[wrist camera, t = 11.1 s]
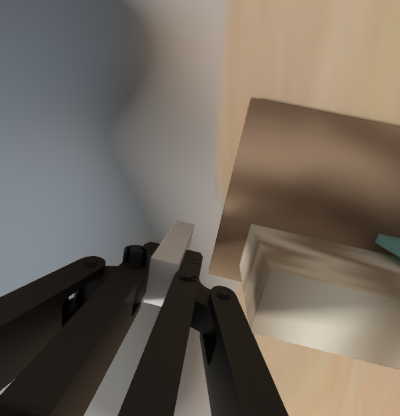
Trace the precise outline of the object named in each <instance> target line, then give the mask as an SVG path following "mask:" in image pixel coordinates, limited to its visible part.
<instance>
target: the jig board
mask: <svg viewBox="0 0 400 416" xmlns="http://www.w3.org/2000/svg"><path fill="white" fill-rule="evenodd" d="M251 224H255V225H259V226H263V227H268V228H272V229H277V230H281V231H285V232H290V233H294V234H299V235H303V236H307V237H312V238H316V239H321V240H325V241H330V242H334V243H338V244H343V245H347V246H352V247H356V248H360V249H365V250H369V251H374V252H378V253H382V254H387V255H391V256H396V257H399V256H397V255H395V254H394V253H392V252H390V251H388V250H387V249H385V248H383V247H381V246H380V245H378V244H376V243H375V240H376V238H377V236H378V234H383V235H387V236H392V237H396V238H400V127H397V126H392V125H387V124H382V123H377V122H372V121H367V120H362V119H357V118H352V117H347V116H342V115H337V114H332V113H327V112H322V111H317V110H312V109H307V108H302V107H297V106H292V105H287V104H282V103H277V102H272V101H267V100H262V99H257V98H251V100H250V103H249V107H248V111H247V115H246V119H245V123H244V127H243V131H242V136H241V140H240V144H239V148H238V152H237V156H236V160H235V164H234V168H233V172H232V177H231V181H230V185H229V189H228V193H227V197H226V201H225V205H224V209H223V214H222V218H221V222H220V226H219V230H218V234H217V238H216V242H215V246H214V251H213V255H212V259H211V263H210V267H209V274H212V275H217V276H221V277H225V278H229V279H233V280H237V281H241V282H242V278H241V272H240V266H239V265H240V261H241V258H242V254H243V251H244V247H245V244H246V240H247V237H248V233H249V230H250V226H251Z"/></svg>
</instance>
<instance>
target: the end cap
mask: <svg viewBox="0 0 400 416" xmlns="http://www.w3.org/2000/svg"><path fill="white" fill-rule="evenodd" d="M375 243H376V244H378V245H380V246H381V247H383V248H385V249H387V250H388V251H390V252H392V253H394V254H395V255H397V256H399V257H400V238H396V237H392V236H387V235H383V234H378V236H377V238H376V240H375Z"/></svg>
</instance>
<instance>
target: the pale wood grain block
mask: <svg viewBox="0 0 400 416" xmlns="http://www.w3.org/2000/svg"><path fill="white" fill-rule="evenodd" d="M239 266H240V272H241V278H242V285H243V291H244V298H245V304H246V310H247V317H248V323H249V326H250V328H251V331H252V333H254V334H258V335H262V336H266V337H270V338H274V339H278V340H282V341H286V342H290V343H294V344H298V345H302V346H306V347H310V348H314V349H318V350H322V351H326V352H330V353H334V354H338V355H342V356H346V357H350V358H354V359H358V360H362V361H366V362H370V363H374V364H378V365H382V366H386V367H390V368H394V369H398V370H400V257H396V256H391V255H387V254H382V253H378V252H374V251H369V250H365V249H360V248H356V247H352V246H347V245H343V244H338V243H334V242H330V241H325V240H321V239H316V238H312V237H307V236H303V235H299V234H294V233H290V232H285V231H281V230H277V229H272V228H268V227H263V226H259V225H255V224H251V226H250V230H249V233H248V237H247V240H246V244H245V247H244V251H243V254H242V258H241V261H240V265H239Z"/></svg>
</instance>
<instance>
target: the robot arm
mask: <svg viewBox="0 0 400 416" xmlns="http://www.w3.org/2000/svg"><path fill="white" fill-rule="evenodd" d="M193 229H194V224H191V223H186V222H182V221H176V222H175V223H174V225H173V226H172V228H171V229H170V231H169V232H168V234H167V235H166V237H165V238H164V239H163V241H162V242H161V244H158V243H154V242H148V243H146V244H144V246H140V245H130V246H127V247H125V248H124V255H123V262H122V263H121V264H120V265H119V266H105V263H106V262H105V260H104V259H103V258H100V257H97V256H89V257H85V258H81V259H79V260H77V261H75V262H73V263H71V264H69V265H67V266H65V267H62V268H61V269H58V270H56V271H54V272H52V273H50V274H48V275H46V276H44V277H42V278H39V279H37V280H35V281H33V282H31V283H29V284H27V285H25V286H23V287H21V288H19V289H17V290H15V291H12V292H10V293H8V294H6V295H4V296H2V297H0V391H1V390H2V389H3V388H4V387H6V386H7V385H8V384H9V383H11V382H12V381H13V380H14V379H15V378H16V379H15V380H14V381H13V382H12V383H11V384H10V385H9V386H8V387H7V388H6V389H5V391H4V392H3V393H2V394H1V395H0V416H84V414H85V412H86V410H87V408H88V406H89V404H90V402H91V401H92V399H93V397H94V395H95V393H96V391H97V389H98V387H99V385H100V383H101V382H102V380H103V378H104V376H105V374H106V372H107V370H108V368H109V366H110V365H111V363H112V361H113V359H114V357H115V355H116V353H117V351H118V349H119V347H120V345H121V343H122V342H123V340H124V338H125V336H126V334H127V332H128V330H129V328H130V326H131V325H132V323H133V321H134V319H135V317H136V315H137V313H138V311H139V309H140V306H141V301H142V298H143V297H144V302H146V303H150V304H154V305H158V306H162V307H161V310H160V312H159V314H158V317H157V319H156V322H155V325H154V327H153V329H152V332H151V334H150V337H149V339H148V342H147V344H146V347H145V350H144V352H143V354H142V357H141V359H140V362H139V364H138V367H137V369H136V372H135V374H134V377H133V379H132V382H131V384H130V387H129V389H128V392H127V394H126V397H125V399H124V402H123V404H122V407H121V409H120V412H119V415H118V416H174V410H175V405H176V400H177V394H178V388H179V384H180V378H181V373H182V368H183V362H184V357H185V352H186V346H187V341H188V335H189V331H190V327H192V328H194V329H195V330H197V331H199V332H200V342H201V349H202V356H203V362H204V369H205V375H206V382H207V388H208V395H209V401H210V408H211V414H212V416H288V413H287V411H286V409H285V407H284V404H283V402H282V400H281V397H280V395H279V393H278V390H277V388H276V386H275V384H274V381H273V379H272V377H271V374H270V372H269V370H268V367H267V365H266V363H265V361H264V358H263V356H262V354H261V351H260V349H259V347H258V344H257V342H256V340H255V338H254V335H253V333H252V331H251V328H250V326H249V324H248V321H247V319H246V317H245V315H244V312H243V310H242V308H241V305H240V303H239V301H238V298H237V296H236V294H235V293H234V292H233V291H232V290H231V289H229V288H227V287H223V286H215V287H213V288H212V289H211V290H210V289H208V288H206V287H204V286H203V285H202V284H201V283H200V281H199V275H200V269H201V264H202V259H203V256H202V255H201V253H199V252H195V251H191V250H189V248H190V244H191V238H192V234H193ZM73 293H75V294H74V297H73V298H72V299H69V296H70V295H72V294H73ZM144 295H145V296H144Z"/></svg>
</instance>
